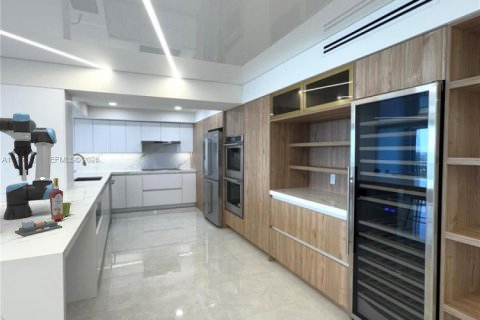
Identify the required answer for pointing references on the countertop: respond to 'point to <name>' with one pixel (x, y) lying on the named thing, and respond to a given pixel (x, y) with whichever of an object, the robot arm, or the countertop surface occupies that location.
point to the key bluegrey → (27, 224)
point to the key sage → (49, 221)
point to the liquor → (56, 202)
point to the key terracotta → (39, 223)
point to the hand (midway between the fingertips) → (24, 180)
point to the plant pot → (66, 209)
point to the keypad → (38, 229)
